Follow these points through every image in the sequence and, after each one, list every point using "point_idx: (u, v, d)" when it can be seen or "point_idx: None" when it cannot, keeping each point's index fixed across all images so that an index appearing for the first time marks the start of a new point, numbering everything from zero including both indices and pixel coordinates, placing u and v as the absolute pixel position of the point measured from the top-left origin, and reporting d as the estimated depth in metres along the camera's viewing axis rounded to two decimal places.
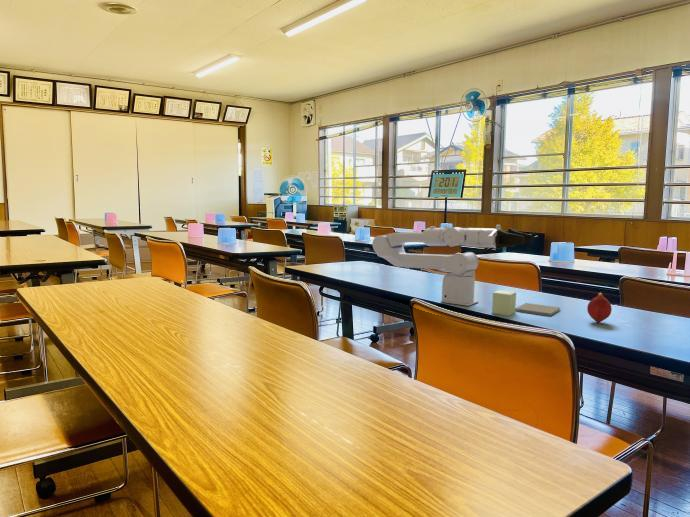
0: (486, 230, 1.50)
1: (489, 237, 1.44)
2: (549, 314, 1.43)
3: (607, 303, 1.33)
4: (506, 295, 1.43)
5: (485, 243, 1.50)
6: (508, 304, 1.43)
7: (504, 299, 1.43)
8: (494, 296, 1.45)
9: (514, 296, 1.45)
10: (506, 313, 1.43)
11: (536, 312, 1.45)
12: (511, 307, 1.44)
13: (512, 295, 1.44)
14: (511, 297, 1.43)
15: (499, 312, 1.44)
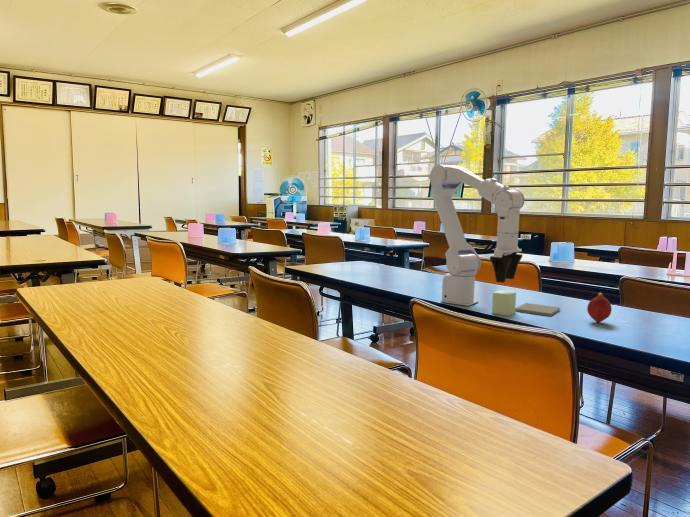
0: (513, 240, 1.41)
1: (500, 253, 1.38)
2: (549, 314, 1.43)
3: (607, 303, 1.33)
4: (506, 295, 1.43)
5: (499, 239, 1.43)
6: (508, 304, 1.43)
7: (504, 299, 1.43)
8: (494, 296, 1.45)
9: (514, 296, 1.45)
10: (506, 313, 1.43)
11: (536, 312, 1.45)
12: (511, 307, 1.44)
13: (512, 295, 1.44)
14: (511, 297, 1.43)
15: (499, 312, 1.44)
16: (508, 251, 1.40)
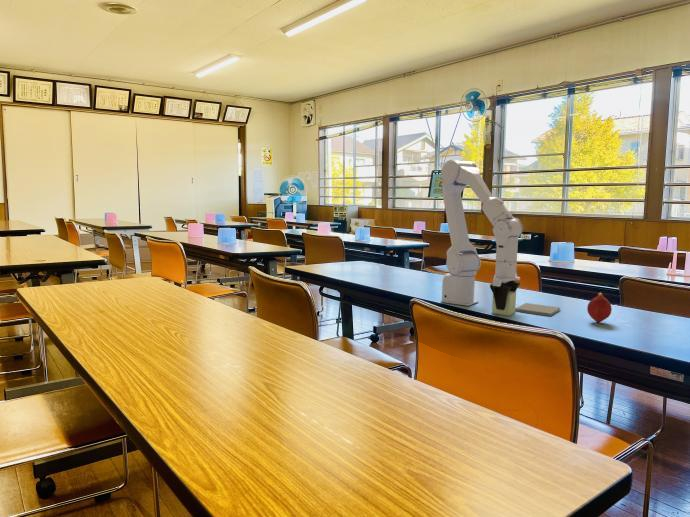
0: (511, 268, 1.42)
1: (498, 282, 1.39)
2: (549, 314, 1.43)
3: (607, 303, 1.33)
4: None
5: (497, 268, 1.44)
6: (508, 304, 1.43)
7: None
8: None
9: (514, 296, 1.45)
10: (506, 313, 1.43)
11: (536, 312, 1.45)
12: (511, 307, 1.44)
13: (512, 295, 1.44)
14: (511, 297, 1.43)
15: (499, 312, 1.44)
16: (506, 280, 1.41)
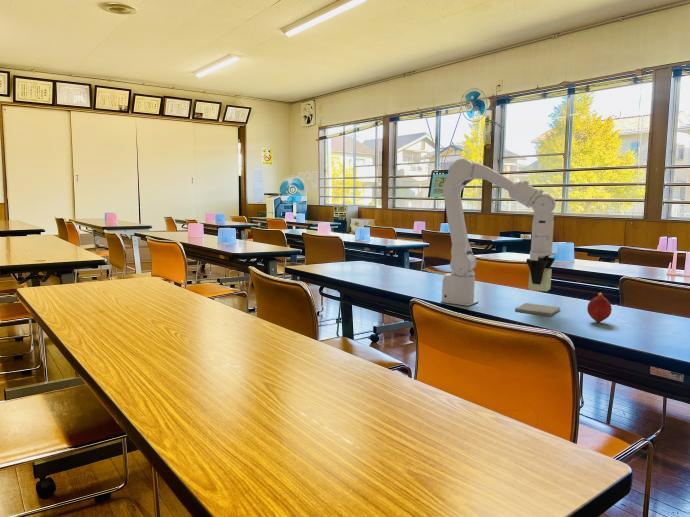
0: (548, 243, 1.44)
1: (536, 256, 1.41)
2: (549, 314, 1.43)
3: (607, 303, 1.33)
4: None
5: (533, 243, 1.46)
6: (545, 280, 1.45)
7: None
8: None
9: (550, 272, 1.47)
10: (543, 289, 1.45)
11: (536, 312, 1.45)
12: (547, 283, 1.46)
13: (549, 271, 1.46)
14: (548, 273, 1.45)
15: (536, 288, 1.46)
16: (543, 254, 1.43)
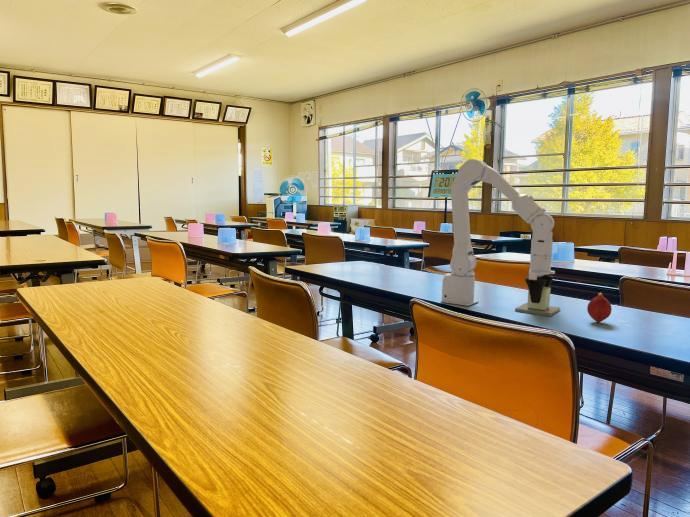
0: (547, 262, 1.45)
1: (534, 275, 1.42)
2: (549, 314, 1.43)
3: (607, 303, 1.33)
4: (542, 290, 1.46)
5: (532, 262, 1.47)
6: (544, 299, 1.45)
7: None
8: None
9: (549, 291, 1.48)
10: (542, 308, 1.46)
11: (536, 312, 1.45)
12: (546, 302, 1.47)
13: (548, 290, 1.47)
14: (547, 292, 1.46)
15: (535, 307, 1.47)
16: (542, 273, 1.44)
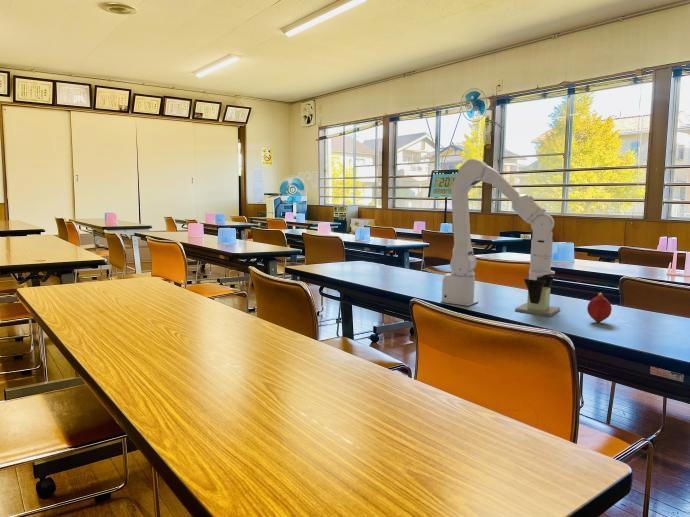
0: (547, 262, 1.45)
1: (534, 275, 1.42)
2: (549, 314, 1.43)
3: (607, 303, 1.33)
4: (542, 290, 1.46)
5: (532, 262, 1.47)
6: (544, 299, 1.46)
7: None
8: None
9: (549, 291, 1.48)
10: (542, 308, 1.46)
11: (536, 312, 1.45)
12: (546, 302, 1.47)
13: (547, 290, 1.47)
14: (546, 292, 1.46)
15: (534, 307, 1.47)
16: (542, 273, 1.44)
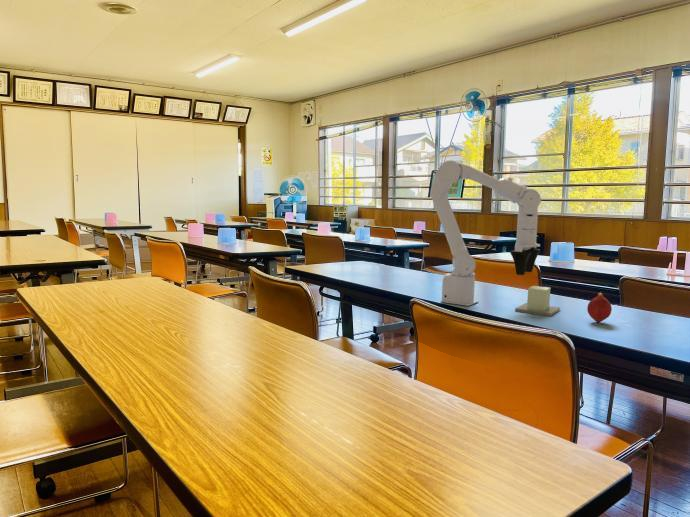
0: (532, 235, 1.51)
1: (520, 247, 1.48)
2: (549, 314, 1.43)
3: (607, 303, 1.33)
4: (542, 290, 1.46)
5: (518, 235, 1.53)
6: (544, 299, 1.46)
7: (540, 294, 1.46)
8: (529, 291, 1.48)
9: (549, 291, 1.48)
10: (542, 308, 1.46)
11: (536, 312, 1.45)
12: (546, 302, 1.47)
13: (547, 290, 1.47)
14: (546, 292, 1.46)
15: (534, 307, 1.47)
16: (528, 246, 1.50)
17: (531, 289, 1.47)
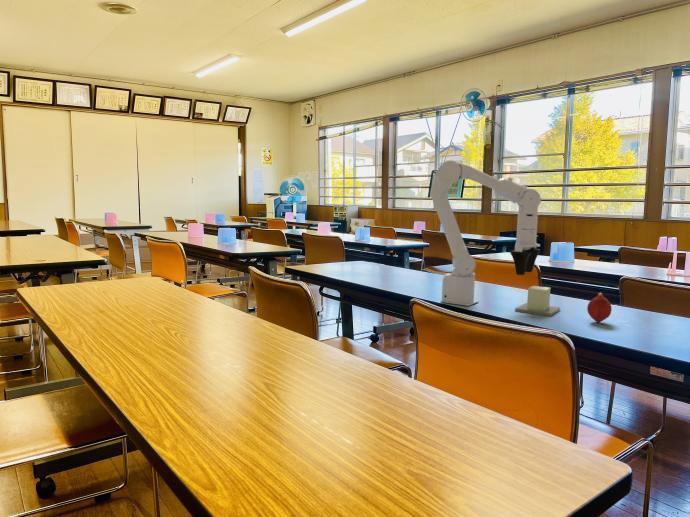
0: (532, 235, 1.51)
1: (520, 247, 1.48)
2: (549, 314, 1.43)
3: (607, 303, 1.33)
4: (542, 290, 1.46)
5: (518, 235, 1.53)
6: (544, 299, 1.46)
7: (540, 294, 1.46)
8: (529, 291, 1.48)
9: (549, 291, 1.48)
10: (542, 308, 1.46)
11: (536, 312, 1.45)
12: (546, 302, 1.47)
13: (547, 290, 1.47)
14: (546, 292, 1.46)
15: (534, 307, 1.47)
16: (528, 246, 1.50)
17: (531, 289, 1.47)
